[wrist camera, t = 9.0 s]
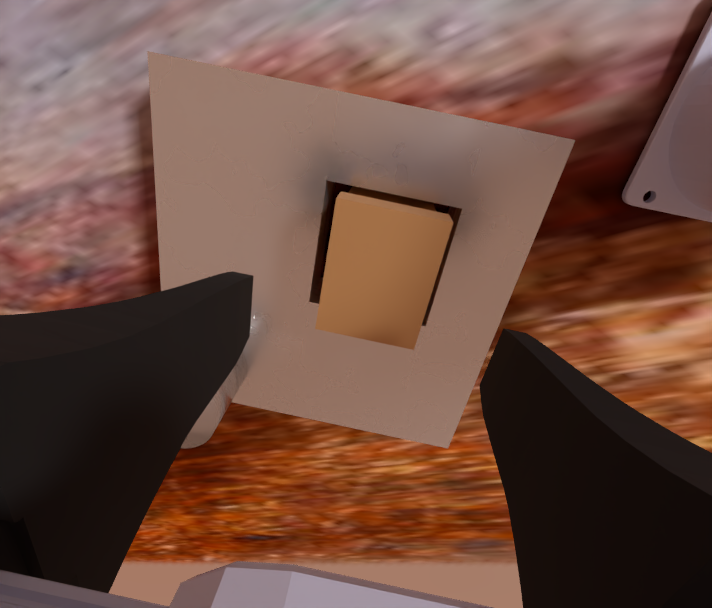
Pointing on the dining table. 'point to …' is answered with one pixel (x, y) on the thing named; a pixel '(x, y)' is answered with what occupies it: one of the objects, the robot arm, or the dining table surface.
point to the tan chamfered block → (381, 266)
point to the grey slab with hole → (310, 227)
